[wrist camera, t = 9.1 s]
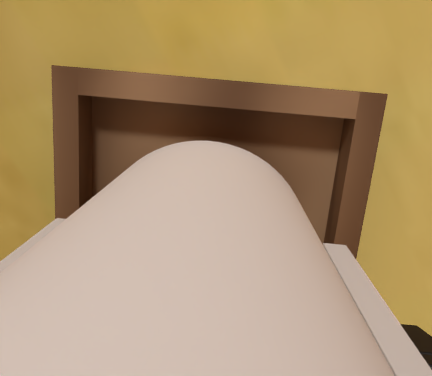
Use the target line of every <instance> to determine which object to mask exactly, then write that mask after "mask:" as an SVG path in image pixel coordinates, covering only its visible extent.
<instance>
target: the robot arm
mask: <svg viewBox="0 0 432 376" xmlns="http://www.w3.org/2000/svg"><path fill="white" fill-rule="evenodd" d="M64 220H65V219H62V218H56V219H55V220H54V221H52V222H51V223H50V224H48V225H47V226H46V227H45V228H43V229H42V230H41V231H39V232H38V233H37V234H36V235H34V236H33V237H32V238H30V239H29V240H28V241H26V242H25V243H24V244H23V245H21V246H20V247H19V248H17V249H16V250H15V251H13V252H12V253H11V254H10V255H8V256H7V257H6V258H4V259H3V260H2V261H0V273H1V272H2V271H3V270H4V269H6V268H7V267H8V266H9V265H10V264H12V263H13V262H14V261H15V260H17V259H18V258H19V257H20V256H21V255H23V254H24V253H25V252H26V251H28V250H29V249H30V248H31V247H32V246H34V245H35V244H36V243H37V242H39V241H40V240H41V239H42V238H43V237H45V236H46V235H47V234H48V233H50V232H51V231H52V230H53V229H54V228H56V227H57V226H58V225H59V224H61V223H62V222H63V221H64ZM323 246H324V248H325V250H326V252H327V254H328V255H329V257H330V259H331V261H332V263H333V265H334V266H335V268H336V270H337V272H338V274H339V275H340V277H341V279H342V281H343V283H344V285H345V286H346V288H347V290H348V292H349V294H350V296H351V297H352V299H353V301H354V303H355V305H356V306H357V308H358V310H359V312H360V314H361V316H362V317H363V319H364V321H365V323H366V325H367V327H368V328H369V330H370V332H371V334H372V336H373V338H374V339H375V341H376V343H377V345H378V347H379V348H380V350H381V352H382V354H383V356H384V358H385V359H386V361H387V363H388V365H389V367H390V369H391V370H392V372H393V374H394V376H432V337H431V336H430V335H429V334H427V333H426V332H425V331H423V330H422V329H421V328H419V327H418V326H414V325H404V324H400V323H399V322H398V320H397V319H396V317H395V316H394V314H393V313H392V311H391V310H390V309H389V307H388V306H387V304H386V303H385V301H384V300H383V298H382V297H381V295H380V294H379V292H378V291H377V290H376V288H375V287H374V285H373V284H372V282H371V281H370V279H369V278H368V276H367V275H366V274H365V272H364V271H363V269H362V268H361V266H360V265H359V263H358V262H357V260H356V259H355V258H354V256H353V255H352V253H351V252H350V250H349V249H348V247H347V246H346V245H339V244H329V243H323Z"/></svg>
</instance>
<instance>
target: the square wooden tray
mask: <svg viewBox="0 0 432 376" xmlns="http://www.w3.org/2000/svg"><path fill="white" fill-rule="evenodd" d="M387 95H388V94H381V93H369V92H357V91H346V90H334V89H322V88H311V87H299V86H288V85H276V84H264V83H253V82H241V81H229V80H218V79H206V78H195V77H183V76H171V75H160V74H148V73H136V72H125V71H113V70H102V69H90V68H78V67H67V66H55V65H52V103H53V143H54V183H55V219H56V218H62V219H67V218H68V217H69V216H70V215H72V214H73V213H74V212H75V211H76V210H78V209H79V208H80V207H81V206H83V205H84V204H85V203H86V202H87V201H89V200H90V199H91V198H92V197H94V196H95V195H96V194H97V193H98V192H100V191H101V190H102V189H103V188H105V187H106V186H107V185H108V184H109V183H111V182H112V181H113V180H114V179H116V178H117V177H118V176H119V175H120V174H122V173H123V172H124V171H125V170H127V169H128V168H129V167H130V166H131V165H133V164H134V163H135V162H136V161H138V160H139V159H141V158H142V157H144V156H145V155H147V154H149V153H151V152H153V151H155V150H157V149H160V148H162V147H165V146H168V145H171V144H175V143H180V142H186V141H214V142H221V143H226V144H230V145H233V146H236V147H239V148H242V149H244V150H246V151H249V152H251V153H252V154H254V155H256V156H258V157H260V158H261V159H262V160H264V161H265V162H267V163H268V164H269V165H271V166H272V167H273V168H274V169H275V170H276V171H277V172H278V173H279V174H280V175H281V176H282V177H283V178H284V179H285V181H286V182H287V183H288V184H289V186H290V187H291V189H292V190H293V192H294V194H295V195H296V197H297V199H298V201H299V202H300V204H301V206H302V208H303V210H304V212H305V213H306V215H307V217H308V219H309V221H310V223H311V224H312V226H313V228H314V230H315V232H316V233H317V235H318V237H319V239H320V241H321V243H322V244H323V243H329V244H339V245H346V246H347V247H348V249H349V250H350V252H351V253H352V255H353V256H354V258H355V259H356V256H357V251H358V246H359V241H360V235H361V230H362V225H363V220H364V214H365V209H366V204H367V199H368V194H369V188H370V183H371V178H372V173H373V168H374V162H375V157H376V152H377V147H378V142H379V136H380V131H381V126H382V121H383V116H384V110H385V105H386V100H387Z"/></svg>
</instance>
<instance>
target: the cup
mask: <svg viewBox="0 0 432 376" xmlns="http://www.w3.org/2000/svg"><path fill="white" fill-rule="evenodd" d="M0 376H394V374H393V372H392V370H391V369H390V367H389V365H388V363H387V361H386V359H385V358H384V356H383V354H382V352H381V350H380V348H379V347H378V345H377V343H376V341H375V339H374V338H373V336H372V334H371V332H370V330H369V328H368V327H367V325H366V323H365V321H364V319H363V317H362V316H361V314H360V312H359V310H358V308H357V306H356V305H355V303H354V301H353V299H352V297H351V296H350V294H349V292H348V290H347V288H346V286H345V285H344V283H343V281H342V279H341V277H340V275H339V274H338V272H337V270H336V268H335V266H334V265H333V263H332V261H331V259H330V257H329V255H328V254H327V252H326V250H325V248H324V246H323V244H322V243H321V241H320V239H319V237H318V235H317V233H316V232H315V230H314V228H313V226H312V224H311V223H310V221H309V219H308V217H307V215H306V213H305V212H304V210H303V208H302V206H301V204H300V202H299V201H298V199H297V197H296V195H295V194H294V192H293V190H292V189H291V187H290V186H289V184H288V183H287V182H286V181H285V179H284V178H283V177H282V176H281V175H280V174H279V173H278V172H277V171H276V170H275V169H274V168H273V167H272V166H271V165H269V164H268V163H267V162H265V161H264V160H262V159H261V158H260V157H258V156H256V155H254V154H252V153H251V152H249V151H246V150H244V149H242V148H239V147H236V146H233V145H230V144H226V143H221V142H214V141H186V142H180V143H175V144H171V145H168V146H165V147H162V148H160V149H157V150H155V151H153V152H151V153H149V154H147V155H145V156H144V157H142V158H141V159H139V160H138V161H136V162H135V163H134V164H133V165H131V166H130V167H129V168H128V169H127V170H125V171H124V172H123V173H122V174H120V175H119V176H118V177H117V178H116V179H114V180H113V181H112V182H111V183H109V184H108V185H107V186H106V187H105V188H103V189H102V190H101V191H100V192H98V193H97V194H96V195H95V196H94V197H92V198H91V199H90V200H89V201H87V202H86V203H85V204H84V205H83V206H81V207H80V208H79V209H78V210H76V211H75V212H74V213H73V214H72V215H70V216H69V217H68V218H67V219H65V220H64V221H63V222H62V223H61V224H59V225H58V226H57V227H56V228H54V229H53V230H52V231H51V232H50V233H48V234H47V235H46V236H45V237H43V238H42V239H41V240H40V241H39V242H37V243H36V244H35V245H34V246H32V247H31V248H30V249H29V250H28V251H26V252H25V253H24V254H23V255H21V256H20V257H19V258H18V259H17V260H15V261H14V262H13V263H12V264H10V265H9V266H8V267H7V268H6V269H4V270H3V271H2V272H1V273H0Z"/></svg>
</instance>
